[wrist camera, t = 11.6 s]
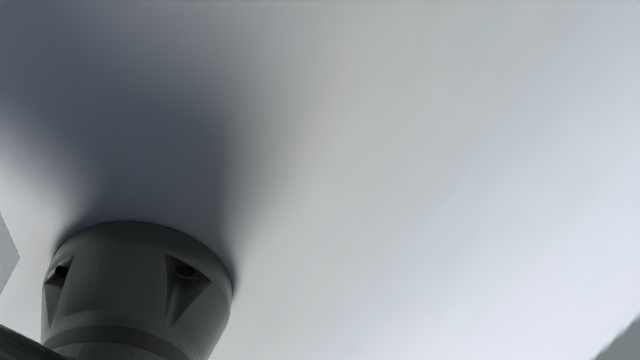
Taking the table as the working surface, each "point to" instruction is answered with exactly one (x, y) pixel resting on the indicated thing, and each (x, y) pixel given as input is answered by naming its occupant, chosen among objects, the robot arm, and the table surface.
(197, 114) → the table surface
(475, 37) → the table surface
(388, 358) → the table surface
